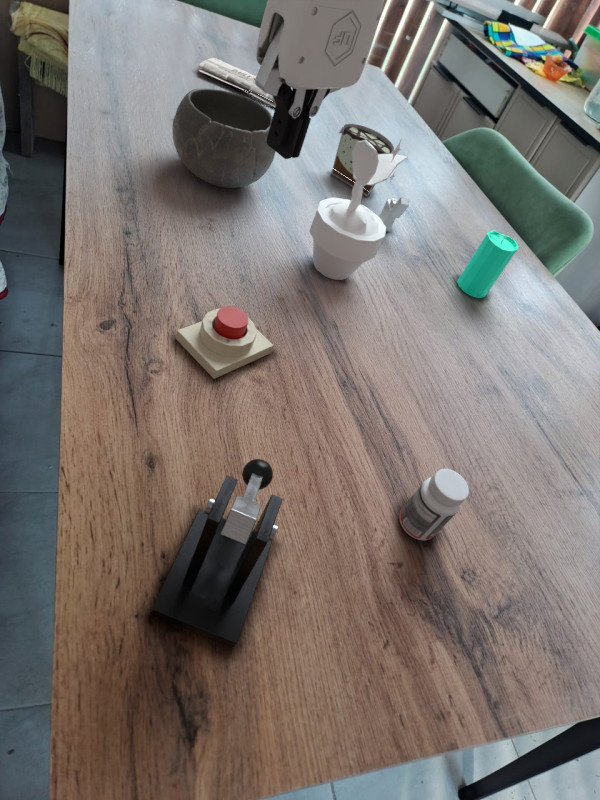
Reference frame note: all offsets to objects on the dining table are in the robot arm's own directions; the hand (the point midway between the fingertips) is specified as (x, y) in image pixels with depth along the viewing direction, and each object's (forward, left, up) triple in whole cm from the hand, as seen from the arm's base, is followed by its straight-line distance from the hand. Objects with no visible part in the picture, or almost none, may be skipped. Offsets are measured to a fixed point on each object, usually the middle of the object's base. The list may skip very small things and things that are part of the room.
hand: (282, 150), depth 56 cm
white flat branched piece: (-11, +50, -27) cm, 58 cm away
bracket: (+24, -21, -27) cm, 42 cm away
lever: (+22, -18, -20) cm, 35 cm away
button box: (0, 0, -27) cm, 27 cm away
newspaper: (-66, +62, -27) cm, 95 cm away
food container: (-26, +58, -27) cm, 69 cm away
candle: (+9, +53, -27) cm, 60 cm away
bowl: (-35, +27, -27) cm, 52 cm away
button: (0, 0, -24) cm, 24 cm away
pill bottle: (+33, +2, -27) cm, 43 cm away
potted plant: (-6, +29, -27) cm, 40 cm away
